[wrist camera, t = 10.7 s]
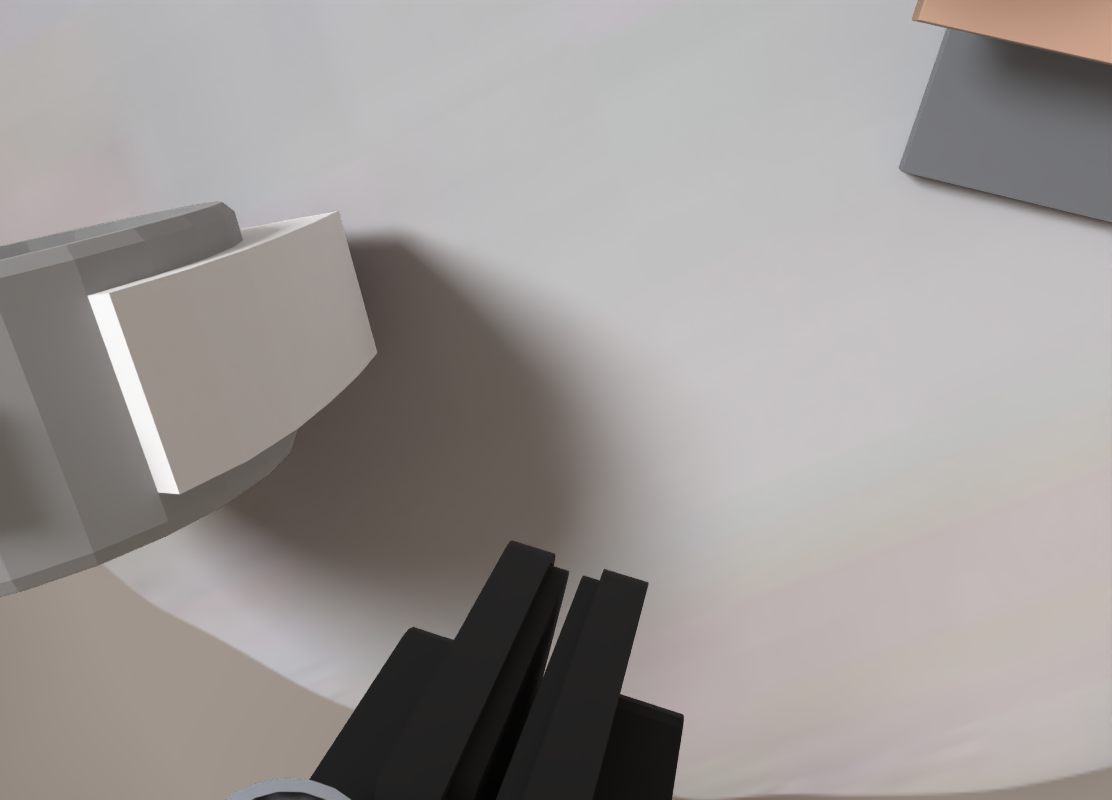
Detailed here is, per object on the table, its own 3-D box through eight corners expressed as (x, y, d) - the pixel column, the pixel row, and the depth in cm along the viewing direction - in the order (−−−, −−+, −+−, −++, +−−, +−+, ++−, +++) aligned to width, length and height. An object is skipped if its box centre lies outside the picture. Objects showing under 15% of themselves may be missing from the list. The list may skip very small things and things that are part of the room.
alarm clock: (377, 162, 38) (-15, 274, 19) (429, 366, 40) (127, 636, 22) (12, 239, 43) (-576, 386, 24) (79, 416, 45) (-409, 671, 27)
